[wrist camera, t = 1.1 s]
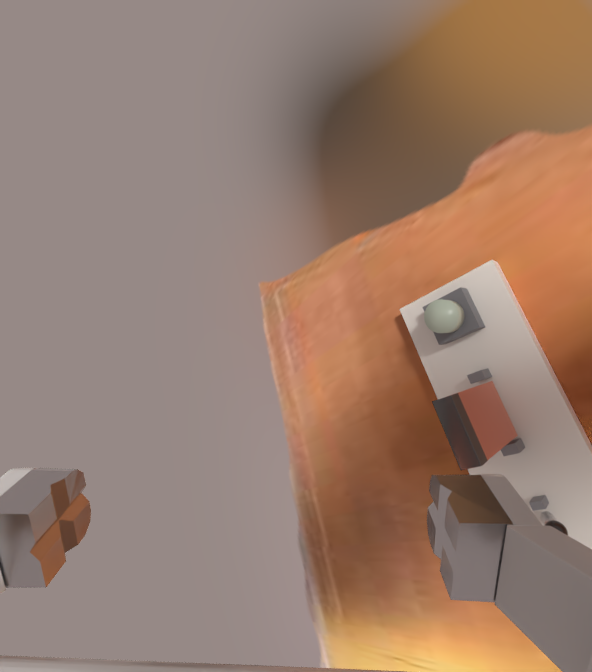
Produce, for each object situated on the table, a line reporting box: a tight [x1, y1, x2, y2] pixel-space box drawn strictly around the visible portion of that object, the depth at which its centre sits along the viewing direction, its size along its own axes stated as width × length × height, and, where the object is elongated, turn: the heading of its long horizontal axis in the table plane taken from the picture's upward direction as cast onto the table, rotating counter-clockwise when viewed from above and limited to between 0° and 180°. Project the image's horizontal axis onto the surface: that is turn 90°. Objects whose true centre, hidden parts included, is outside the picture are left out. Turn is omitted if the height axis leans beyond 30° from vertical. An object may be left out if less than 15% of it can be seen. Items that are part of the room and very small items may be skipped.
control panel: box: [400, 260, 592, 549], centre depth 42 cm, size 12×30×4 cm, turn 26°
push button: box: [424, 299, 464, 333], centre depth 43 cm, size 4×4×2 cm
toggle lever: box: [540, 511, 568, 535], centre depth 36 cm, size 2×2×5 cm
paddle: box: [432, 381, 518, 470], centre depth 38 cm, size 2×6×12 cm, turn 26°
